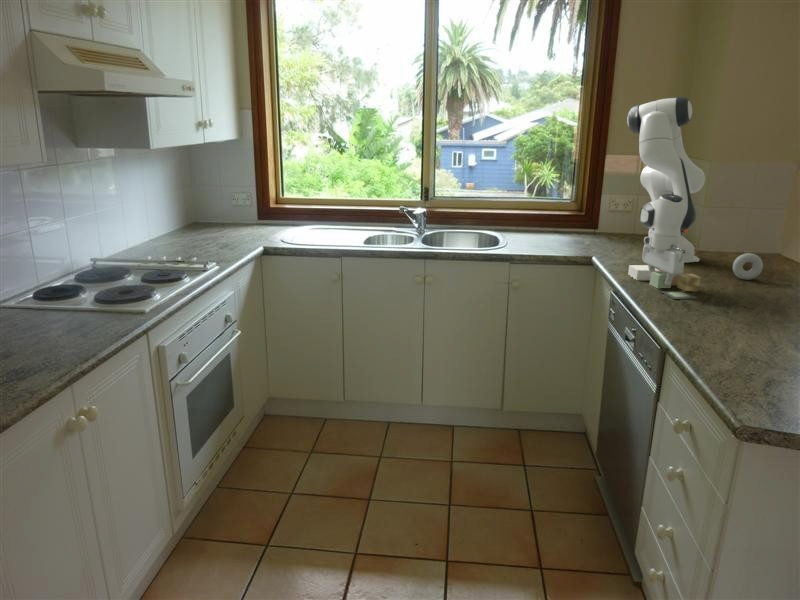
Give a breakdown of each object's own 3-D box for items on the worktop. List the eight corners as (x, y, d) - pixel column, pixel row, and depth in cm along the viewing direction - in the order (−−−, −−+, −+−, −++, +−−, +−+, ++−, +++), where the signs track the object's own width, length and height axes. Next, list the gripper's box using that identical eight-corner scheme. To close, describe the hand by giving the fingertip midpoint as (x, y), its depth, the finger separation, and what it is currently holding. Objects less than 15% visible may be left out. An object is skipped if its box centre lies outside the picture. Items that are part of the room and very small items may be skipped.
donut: (758, 279, 224) (763, 253, 221) (761, 281, 221) (766, 255, 218) (729, 277, 226) (733, 251, 223) (731, 279, 223) (736, 253, 220)
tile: (682, 292, 206) (682, 290, 206) (696, 298, 199) (696, 297, 198) (660, 292, 205) (660, 291, 205) (674, 299, 197) (674, 298, 197)
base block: (648, 275, 229) (650, 265, 227) (657, 281, 221) (659, 270, 220) (627, 275, 228) (629, 265, 227) (636, 280, 221) (637, 270, 220)
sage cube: (662, 285, 215) (664, 271, 214) (670, 288, 210) (672, 275, 209) (649, 285, 214) (651, 271, 213) (657, 289, 209) (659, 275, 208)
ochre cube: (689, 287, 212) (691, 273, 211) (698, 291, 208) (700, 277, 206) (676, 287, 212) (678, 274, 210) (685, 291, 207) (687, 277, 205)
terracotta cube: (671, 281, 220) (673, 268, 218) (679, 285, 215) (681, 271, 213) (658, 282, 219) (660, 268, 217) (666, 285, 214) (668, 272, 213)
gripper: (691, 248, 198) (685, 289, 202) (657, 236, 218) (652, 273, 222) (674, 248, 197) (668, 289, 201) (641, 237, 217) (636, 274, 221)
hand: (659, 281), depth 212 cm, fingers open, 8 cm apart
